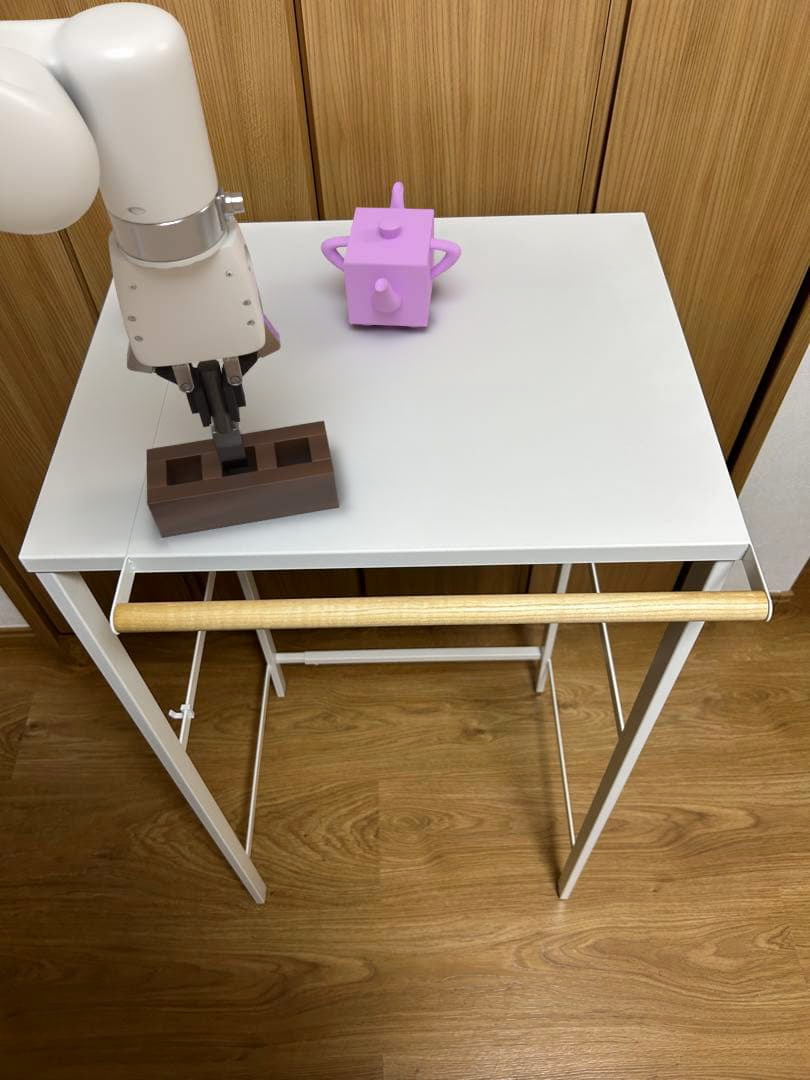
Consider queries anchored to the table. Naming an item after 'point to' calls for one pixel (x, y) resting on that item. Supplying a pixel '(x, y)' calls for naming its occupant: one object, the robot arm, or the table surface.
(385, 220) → the teapot
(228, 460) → the grey handled tool
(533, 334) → the table surface
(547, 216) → the table surface
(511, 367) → the table surface
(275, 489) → the utensil block
